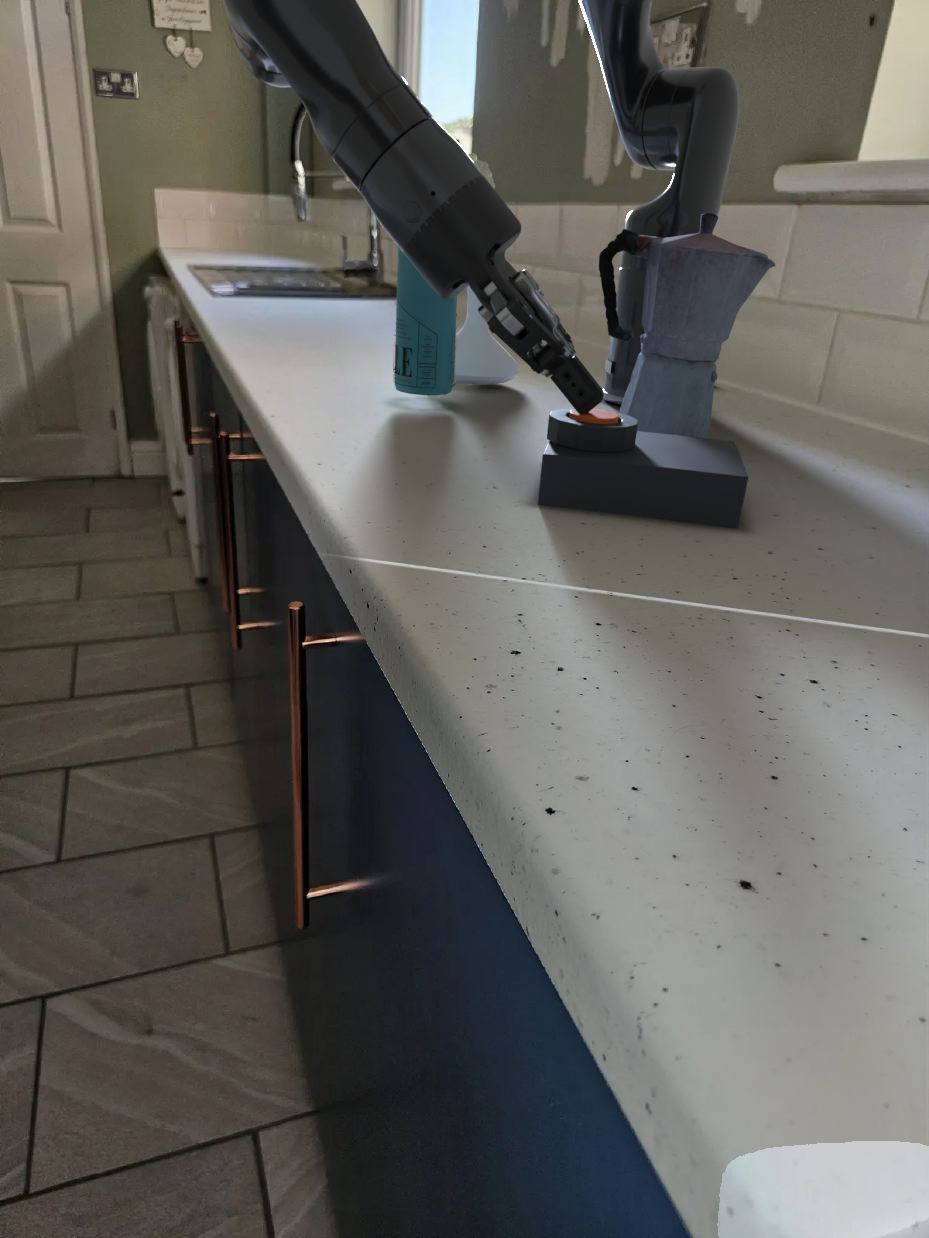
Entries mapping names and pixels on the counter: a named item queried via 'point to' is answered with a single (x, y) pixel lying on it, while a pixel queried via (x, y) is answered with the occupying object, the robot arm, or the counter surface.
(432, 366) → the beverage bottle
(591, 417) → the kettle switch
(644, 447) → the base
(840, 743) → the counter surface
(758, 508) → the counter surface
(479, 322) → the flower in vase
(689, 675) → the counter surface
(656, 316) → the moka pot
